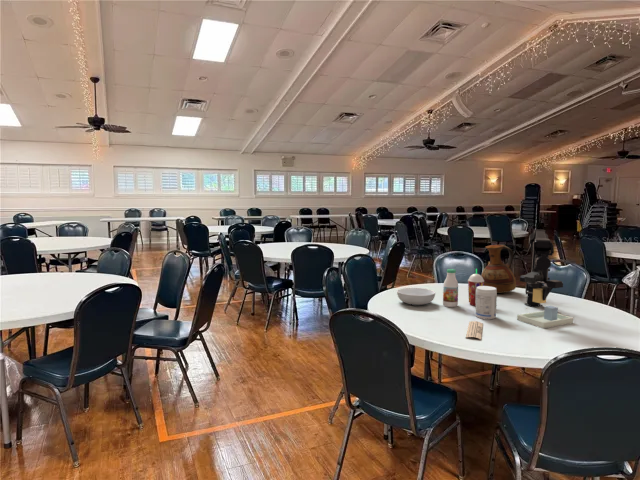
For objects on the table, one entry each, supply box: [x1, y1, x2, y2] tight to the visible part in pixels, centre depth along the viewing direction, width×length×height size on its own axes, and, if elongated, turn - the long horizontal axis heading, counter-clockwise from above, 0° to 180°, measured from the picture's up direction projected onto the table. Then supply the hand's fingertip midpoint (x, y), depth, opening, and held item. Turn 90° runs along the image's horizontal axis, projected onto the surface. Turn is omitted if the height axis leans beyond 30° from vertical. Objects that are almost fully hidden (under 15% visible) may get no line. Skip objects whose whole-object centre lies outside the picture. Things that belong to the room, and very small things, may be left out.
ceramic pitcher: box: [480, 244, 517, 294], centre depth 254 cm, size 20×20×30 cm
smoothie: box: [467, 268, 484, 307], centre depth 224 cm, size 8×8×20 cm
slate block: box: [543, 305, 559, 321], centre depth 195 cm, size 4×4×6 cm
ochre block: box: [533, 288, 547, 304], centre depth 191 cm, size 4×4×6 cm
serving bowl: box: [396, 287, 436, 306], centre depth 228 cm, size 21×21×7 cm
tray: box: [516, 310, 574, 329], centre depth 194 cm, size 20×14×2 cm
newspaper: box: [465, 320, 484, 341], centre depth 180 cm, size 24×7×2 cm, turn 157°
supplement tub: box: [474, 286, 498, 320], centre depth 201 cm, size 10×10×15 cm
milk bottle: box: [442, 268, 459, 308], centre depth 222 cm, size 8×8×20 cm
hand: (539, 299), depth 191 cm, fingers closed on ochre block, 4 cm apart
